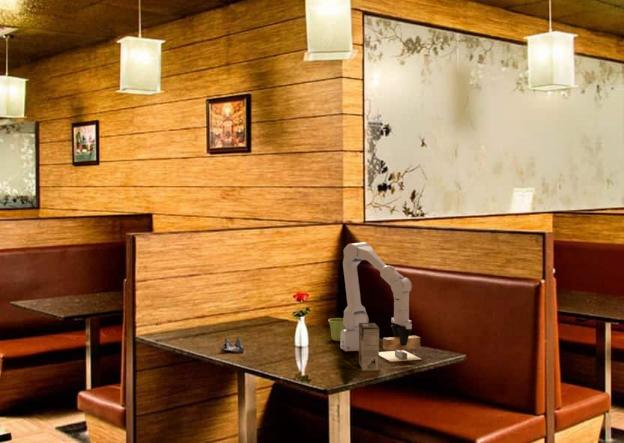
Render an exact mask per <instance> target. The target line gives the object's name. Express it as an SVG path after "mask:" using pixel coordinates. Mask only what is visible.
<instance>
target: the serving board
mask: <svg viewBox="0 0 624 443" xmlns="http://www.w3.org/2000/svg"><path fill="white" fill-rule="evenodd" d="M400 350H401V351H403V352H405V353H407V359H404V360H402V359H400V358H398V357H396V356H395V350H387V351H379V357H382V358H383V359H385V360H388V361H389V362H391V363H392V362H403V361H416V360H422V358H420V357H418V356H416V355H414V354H413V353H410V352H408V351H406V350H405V349H400Z"/></svg>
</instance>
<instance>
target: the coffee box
mask: <svg viewBox="0 0 624 443" xmlns="http://www.w3.org/2000/svg"><path fill="white" fill-rule="evenodd" d="M379 352H380V327H379V326H378V325H377V324H376V323H375V322H368V323H359V351H358V364H359V366H360V367H361V370H362V371H366V372H367V371H379V364H380V363H379V361H380V359H379V358H380V355H379Z"/></svg>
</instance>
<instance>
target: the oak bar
mask: <svg viewBox="0 0 624 443" xmlns="http://www.w3.org/2000/svg"><path fill="white" fill-rule="evenodd" d="M420 348H421V337H420V336H418V335H409V337H408V341H407V345H406V346H401V344H400V337H394V336H392V337H390V336H389V337H383V338H382V349H384V350H385V351H395V350H407V349H420Z"/></svg>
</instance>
